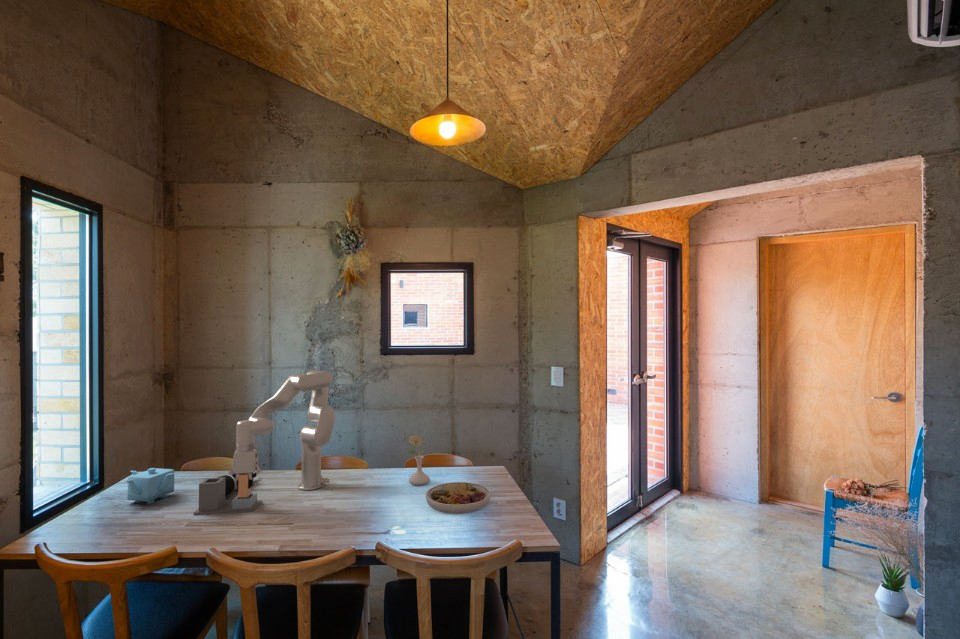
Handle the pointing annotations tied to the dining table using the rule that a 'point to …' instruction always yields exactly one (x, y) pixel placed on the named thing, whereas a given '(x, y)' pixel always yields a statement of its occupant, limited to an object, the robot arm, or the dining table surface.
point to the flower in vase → (418, 463)
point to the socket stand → (222, 499)
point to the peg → (243, 485)
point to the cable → (229, 484)
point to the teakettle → (150, 484)
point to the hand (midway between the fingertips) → (244, 487)
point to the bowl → (457, 497)
